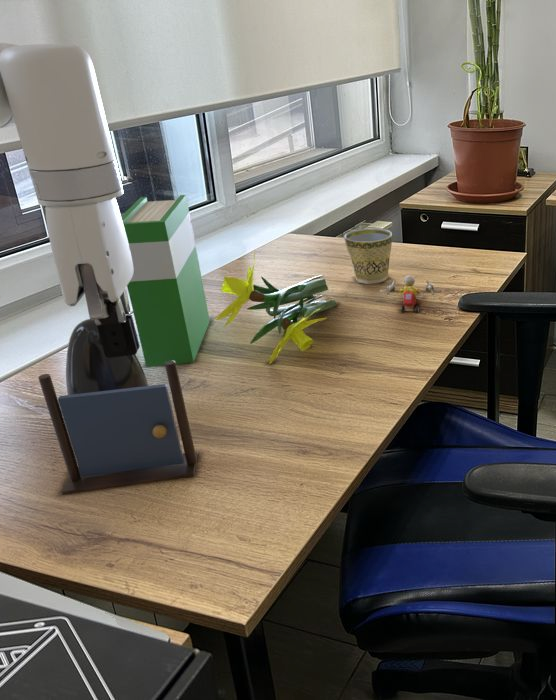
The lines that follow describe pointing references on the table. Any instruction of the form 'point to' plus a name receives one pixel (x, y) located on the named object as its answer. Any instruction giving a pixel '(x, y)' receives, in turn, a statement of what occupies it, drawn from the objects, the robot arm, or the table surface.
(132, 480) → the door frame
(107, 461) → the door
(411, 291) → the toy airplane
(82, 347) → the dark grey rounded dome
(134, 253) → the hardback book
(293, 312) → the daffodil flowers
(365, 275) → the ceramic cup
